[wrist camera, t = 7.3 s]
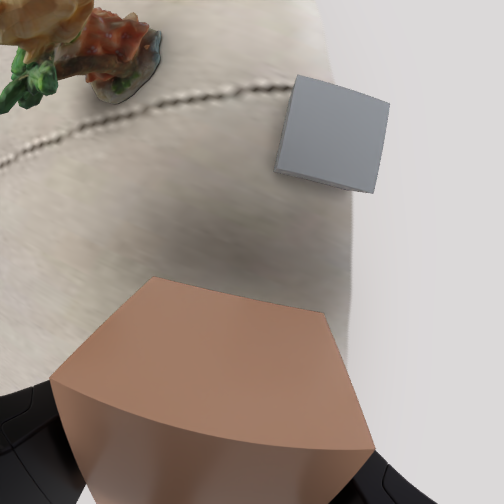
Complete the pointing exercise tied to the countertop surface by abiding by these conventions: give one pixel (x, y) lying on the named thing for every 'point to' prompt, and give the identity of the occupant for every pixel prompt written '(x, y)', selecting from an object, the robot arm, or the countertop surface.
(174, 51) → the countertop surface
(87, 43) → the figurine
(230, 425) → the terracotta cube
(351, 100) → the slate cube
